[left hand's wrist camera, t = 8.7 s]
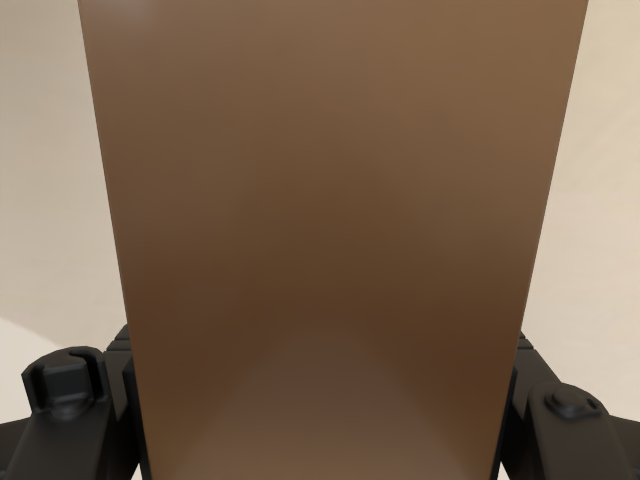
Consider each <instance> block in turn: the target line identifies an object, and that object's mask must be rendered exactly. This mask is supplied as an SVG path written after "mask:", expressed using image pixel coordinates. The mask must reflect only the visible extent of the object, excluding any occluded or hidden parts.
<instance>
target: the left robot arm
mask: <svg viewBox="0 0 640 480" xmlns="http://www.w3.org/2000/svg"><path fill="white" fill-rule="evenodd" d="M21 376H22V380H23V383H24V387H25V390H26V393H27V397H28V400H29V404H30V407H31V411H32V414H31V416H30V417H28V418H25V419H21V420H16V421H12V422H7V423H3V424H0V480H131V479H132V476H133V474H134V472H135V470H136V468H137V466H138V464H140V470H141V475H142V480H152V479H151V473H150V466H149V460H148V453H147V447H146V440H145V434H144V427H143V421H142V414H141V408H140V401H139V395H138V388H137V382H136V375H135V369H134V362H133V356H132V350H131V343H130V337H129V330H128V324H126V325H125V326H124V327H123V328H122V329H121V331H120V332H119V333H118V334H117V336H116V337H115V340H114V341H112V342H111V343H110V345H109V346H108V347H107V350H106V351H104V352H103V353H102V352H101V351H100V350H98V349H97V348H93V347H88V346H78V347H69V348H65V349H61V350H57V351H54V352H52V353H50V354H47V355H45V356H42V357H40V358H39V359H37V360H36V361H34V362H33V363H31V364H30V365H29V366H28V367H27V368H26V369H25V370H24V371H23V373H22V374H21ZM501 462H502V464H503V466H504V468H505V471H506V473H507V475H508V477H509V479H510V480H640V422H637V421H632V420H628V419H623V418H619V417H615V416H612V415H609V413H608V411H607V410H606V408H605V407H604V406H603V404H602V403H601V402H600V401H599V400H598V399H596V398H595V397H594V396H592V395H591V394H590V393H588V392H586V391H584V390H582V389H580V388H578V387H576V386H573V385H569V384H566V383H562V382H561V381H560V380H559V379H558V377H557V376H556V375H555V374H554V372H553V371H552V370H551V369H550V367H549V366H548V365H547V363H546V362H545V361H544V360H543V358H542V357H541V356H540V355H539V353H538V352H537V351H536V350H534V348H533V346H532V344H531V343H530V342H529V341H528V339H526V338H525V335H524V334H523V333H522V332H521V331H520V336H519V341H518V346H517V350H516V355H515V360H514V365H513V370H512V375H511V380H510V384H509V389H508V394H507V399H506V404H505V409H504V414H503V419H502V423H501V428H500V433H499V438H498V443H497V448H496V453H495V457H494V462H493V467H492V472H491V477H490V480H497V478H498V473H499V468H500V463H501Z"/></svg>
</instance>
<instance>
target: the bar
mask: <svg viewBox="0 0 640 480" xmlns="http://www.w3.org/2000/svg"><path fill="white" fill-rule="evenodd" d="M587 5H588V0H78V6H79V13H80V19H81V26H82V32H83V39H84V45H85V52H86V58H87V65H88V71H89V78H90V84H91V91H92V97H93V104H94V110H95V116H96V123H97V129H98V136H99V142H100V149H101V155H102V162H103V168H104V175H105V181H106V188H107V194H108V201H109V207H110V214H111V220H112V227H113V233H114V239H115V246H116V252H117V259H118V265H119V272H120V278H121V285H122V291H123V298H124V304H125V311H126V317H127V324H128V330H129V337H130V343H131V350H132V356H133V362H134V369H135V375H136V382H137V388H138V395H139V401H140V408H141V414H142V421H143V427H144V434H145V440H146V447H147V453H148V460H149V466H150V473H151V479H152V480H490V477H491V472H492V467H493V462H494V457H495V453H496V448H497V443H498V438H499V433H500V428H501V423H502V419H503V414H504V409H505V404H506V399H507V394H508V389H509V384H510V380H511V375H512V370H513V365H514V360H515V355H516V350H517V346H518V341H519V336H520V331H521V326H522V321H523V316H524V312H525V307H526V302H527V297H528V292H529V287H530V282H531V277H532V273H533V268H534V263H535V258H536V253H537V248H538V243H539V239H540V234H541V229H542V224H543V219H544V214H545V209H546V205H547V200H548V195H549V190H550V185H551V180H552V175H553V170H554V166H555V161H556V156H557V151H558V146H559V141H560V136H561V132H562V127H563V122H564V117H565V112H566V107H567V102H568V97H569V93H570V88H571V83H572V78H573V73H574V68H575V63H576V59H577V54H578V49H579V44H580V39H581V34H582V29H583V25H584V20H585V15H586V10H587Z"/></svg>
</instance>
